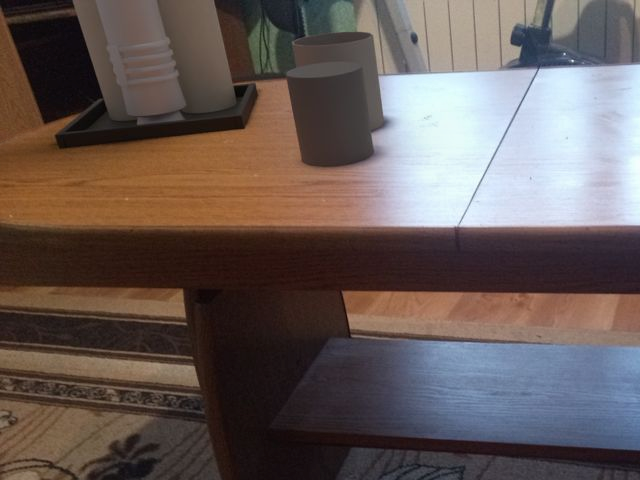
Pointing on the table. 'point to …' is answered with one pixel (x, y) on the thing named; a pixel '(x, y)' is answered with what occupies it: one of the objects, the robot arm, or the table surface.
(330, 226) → the table surface
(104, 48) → the ivory candle left
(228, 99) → the ivory candle right
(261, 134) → the table surface
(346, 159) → the grey candle
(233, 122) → the tray
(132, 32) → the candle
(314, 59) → the cup
